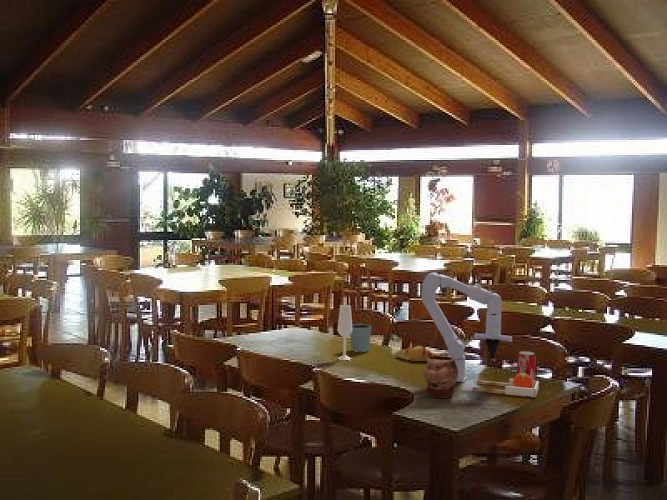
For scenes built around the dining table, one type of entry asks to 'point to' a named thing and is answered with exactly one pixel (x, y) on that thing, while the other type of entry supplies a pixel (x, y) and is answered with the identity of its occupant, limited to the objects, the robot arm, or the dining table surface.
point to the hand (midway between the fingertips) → (492, 358)
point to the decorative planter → (440, 376)
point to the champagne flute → (345, 327)
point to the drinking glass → (360, 337)
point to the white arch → (522, 389)
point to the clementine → (522, 380)
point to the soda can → (526, 363)
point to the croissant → (415, 354)
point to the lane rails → (490, 389)
